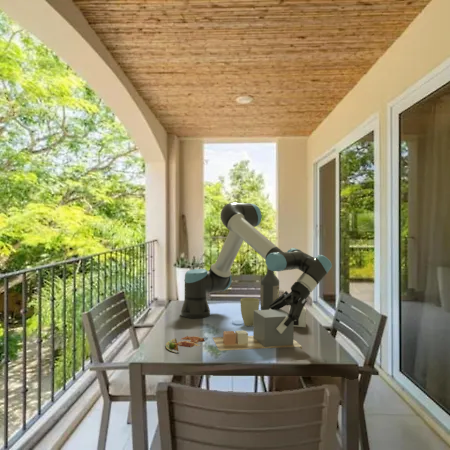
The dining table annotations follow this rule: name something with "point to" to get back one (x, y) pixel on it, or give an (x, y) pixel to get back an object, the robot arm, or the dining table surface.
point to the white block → (241, 337)
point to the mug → (249, 310)
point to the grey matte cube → (272, 328)
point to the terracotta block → (229, 337)
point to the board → (251, 344)
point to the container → (301, 319)
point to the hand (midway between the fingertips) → (270, 326)
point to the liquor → (269, 289)
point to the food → (183, 343)
